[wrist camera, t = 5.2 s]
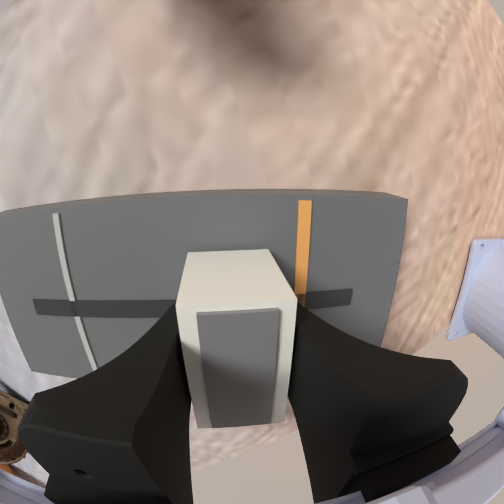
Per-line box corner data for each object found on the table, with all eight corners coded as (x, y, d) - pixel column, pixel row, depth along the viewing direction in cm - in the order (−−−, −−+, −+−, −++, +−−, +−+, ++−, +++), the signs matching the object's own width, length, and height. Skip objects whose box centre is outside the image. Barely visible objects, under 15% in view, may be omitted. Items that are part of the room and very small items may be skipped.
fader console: (384, 192, 13) (409, 199, 11) (361, 342, 16) (376, 362, 14) (5, 210, 11) (-18, 219, 9) (44, 351, 14) (31, 372, 12)
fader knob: (268, 249, 11) (299, 302, 7) (265, 354, 12) (285, 424, 9) (187, 252, 10) (174, 308, 7) (198, 358, 12) (197, 431, 8)
